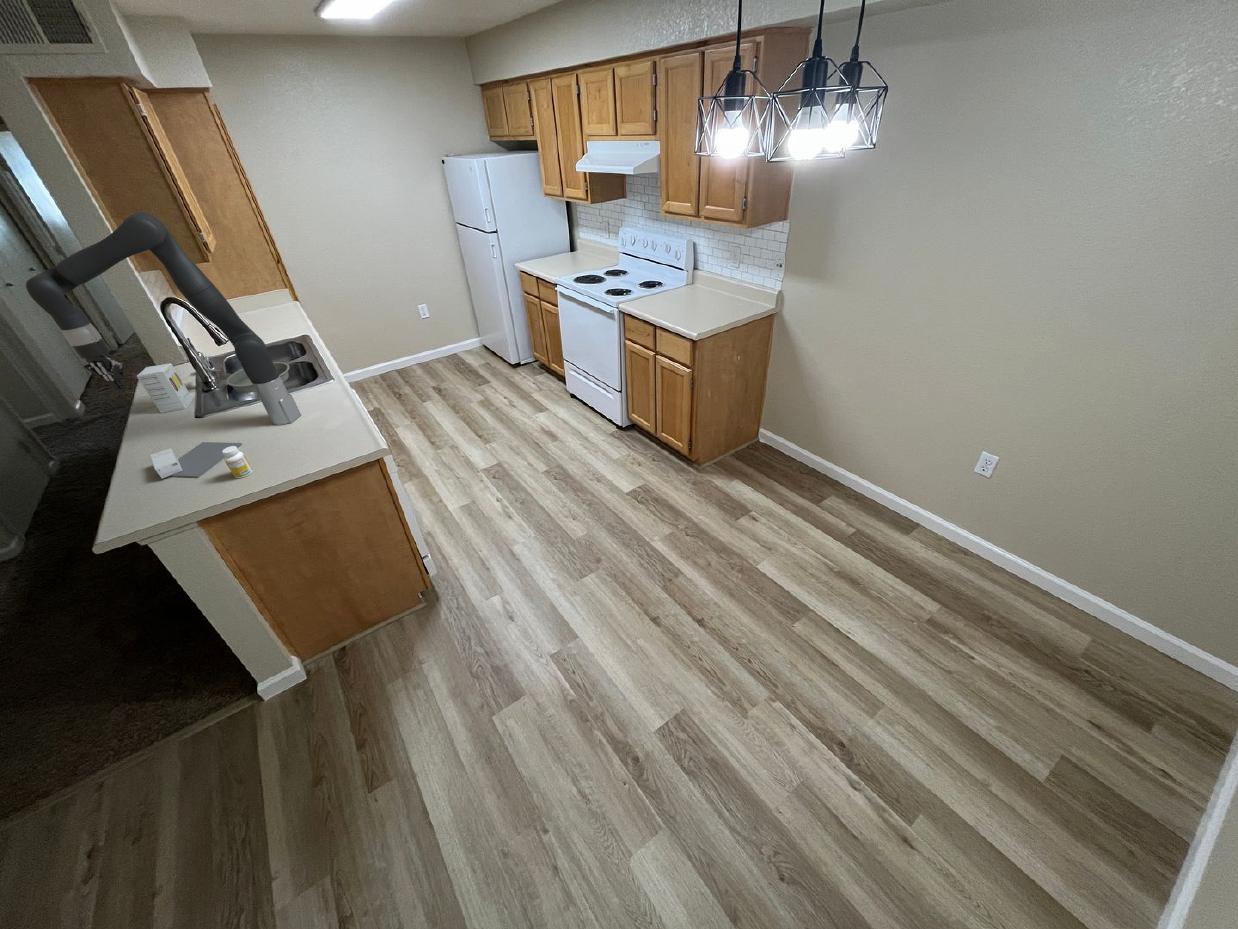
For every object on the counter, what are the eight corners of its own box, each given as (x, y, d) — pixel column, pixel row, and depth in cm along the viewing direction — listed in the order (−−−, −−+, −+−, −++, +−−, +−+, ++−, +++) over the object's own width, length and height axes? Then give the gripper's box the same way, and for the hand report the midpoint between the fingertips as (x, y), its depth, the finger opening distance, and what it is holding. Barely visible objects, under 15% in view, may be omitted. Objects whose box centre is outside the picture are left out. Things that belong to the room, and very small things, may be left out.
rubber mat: (242, 444, 183) (241, 443, 183) (198, 477, 167) (197, 476, 167) (203, 443, 185) (202, 442, 185) (156, 476, 169) (155, 474, 169)
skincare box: (156, 464, 174) (161, 480, 167) (149, 454, 171) (153, 469, 164) (178, 457, 177) (183, 472, 170) (170, 446, 174) (176, 461, 167)
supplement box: (186, 409, 209) (162, 371, 200) (160, 413, 207) (135, 376, 197) (193, 399, 217) (171, 362, 207) (168, 403, 215) (145, 366, 205)
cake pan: (294, 385, 223) (289, 375, 221) (229, 400, 214) (224, 390, 211) (292, 365, 241) (288, 357, 238) (232, 379, 232) (228, 370, 229)
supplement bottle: (239, 469, 170) (225, 445, 164) (256, 468, 170) (242, 443, 164) (231, 479, 165) (215, 454, 159) (248, 477, 165) (233, 453, 160)
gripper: (55, 345, 157) (93, 395, 167) (92, 344, 155) (128, 394, 165) (79, 336, 163) (114, 384, 173) (115, 335, 161) (148, 384, 171)
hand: (121, 389), depth 169 cm, fingers closed
